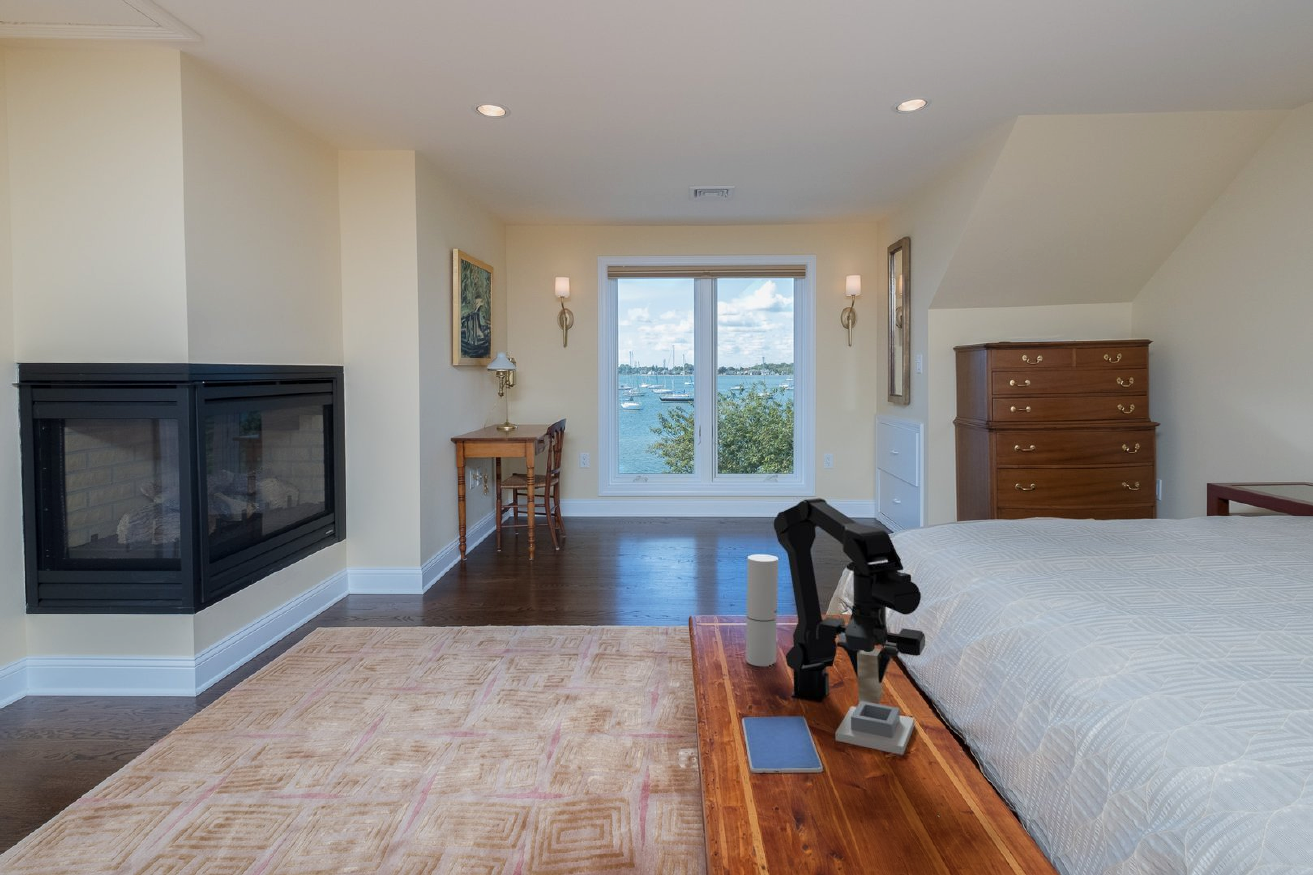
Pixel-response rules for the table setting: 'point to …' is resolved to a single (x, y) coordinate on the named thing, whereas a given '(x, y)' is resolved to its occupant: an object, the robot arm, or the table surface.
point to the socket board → (876, 727)
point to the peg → (869, 676)
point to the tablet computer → (780, 745)
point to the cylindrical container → (761, 609)
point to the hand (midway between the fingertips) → (869, 680)
